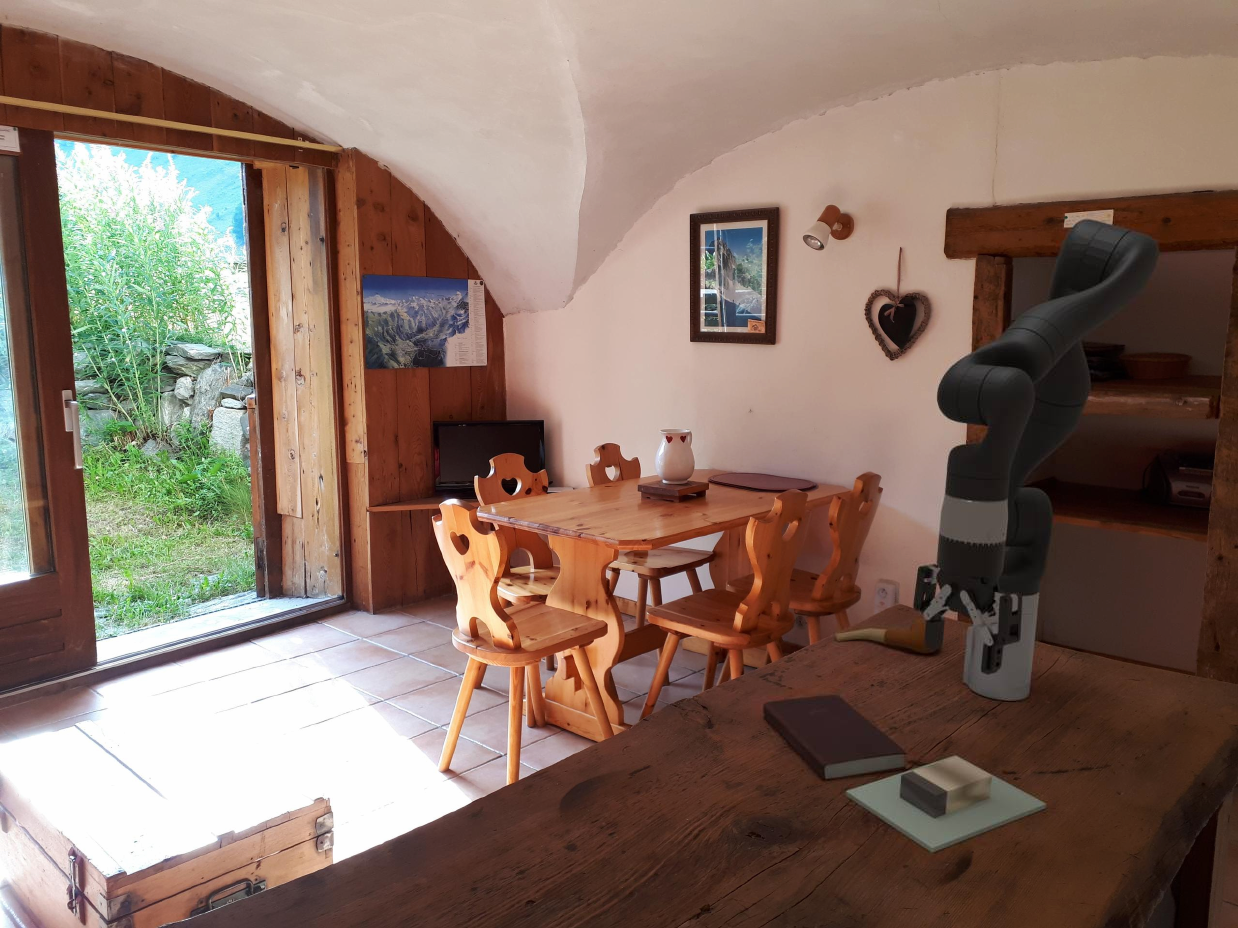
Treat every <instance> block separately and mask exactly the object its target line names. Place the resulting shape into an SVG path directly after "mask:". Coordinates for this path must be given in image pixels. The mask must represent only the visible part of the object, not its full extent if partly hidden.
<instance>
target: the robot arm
mask: <svg viewBox="0 0 1238 928" xmlns="http://www.w3.org/2000/svg"><path fill="white" fill-rule="evenodd" d="M1159 254H1160V247H1159V244H1158V242H1157V240H1156V239H1154V238H1153V237H1151V236H1150V235H1147V234H1145V233H1142V232H1138V231H1135V230H1131V229H1130V228H1129V229H1128V228H1125V227H1121V226H1119V225H1118V226H1117V225H1113V224H1111V223H1106V222H1103V221H1099V220H1094V219H1089V218H1085V219H1081V220H1079V221H1077V222H1075V224H1073V226H1072V227H1071V229H1070V230H1069V231H1068V233H1067V235H1066V236H1065V238H1064V240H1063V242H1062V245H1061V247H1060V250H1059V253H1058V255H1057V258H1056V261H1055V265H1054V270H1053V273H1052V275H1051V276H1052V277H1051V280H1050V283H1049V287H1048V288H1049V289H1048V293H1047V296H1046V301H1045V302H1043V303H1040V304H1038V305H1036V306H1033V307H1032V308H1030V309H1028V310H1026V311H1024V312H1023V313H1022V314H1021V315H1020V316H1019V317H1017V319H1016V320H1015V321H1014V322H1012V324H1010V326H1008V328H1006V329H1005V331H1004V332H1003V333H1002V334H1001V335H1000V336H999V337H998V338H997V339H996V340H994V341H992V342H991V341H990V342H989V343H987V344H985V345H983V346H981V347H979V348H978V349H975V350H974V351H973V352H970V353H969V354H967V355H965V356H963V357H962V358H961V359H959V360H957V361H956V362H955V363H953V364H951V366H950V367H949V368H948V369H947V370H946V372H945V373H944V374H943V376H942V378H941V379H940V382H939V385H938V386H937V392H936V402H937V405H938V409H939V410H940V412H941V413H942V415H943V416H944V417H946V418H947V419H948V420H951V421H953V422H956V423H961V424H970V425H976V426H983V427H987V431H986V433H985V434H984V437H983V438H982V440H981V441H980V442H979V443H978V442H977V443H965V444H963V443H962V444H958V445H956V446H954V447H953V448H952V449H951V450H950V451H949V454H948V457H947V463H946V476H945V477H946V478H945V488H944V497H943V502H942V506H941V509H940V518H939V519H940V521H939V531H938V541H937V542H938V543H937V554H936V563H932V564H924V565H921V566H920V565H919V567H918V568H917V573H916V575H917V576H916V582H915V589H914V596H913V603H912V605H913V610H915V611H916V612H921V613H922V614H923V619H926V627H925V643H926V647H927V648H928V649H931V650H935V649H937V650H938V649H941V648H942V647H943V646H944V645H943V643H944V634H945V633H944V631H945V621H946V620H945V619H943V617H944V616H945V615H946V614H948V612H949V611H950V612H953V613H960V614H961V615H963V616H964V617H966V618H969V619H971V621H972V622H973V625H970V626H968V628H967V630H966V642H965V651H964V663H963V675H962V676H963V677H962V683H963V684H966V685H967V686H968V687H969V689H971V690H972V691H973V692H974V693H977V694H978V695H980V696H983V697H985V698H990V699H994V700H999V701H1020V700H1021V701H1022V700H1025V699H1026V698H1028V697H1029V695H1030V689H1031V688H1030V687H1031V678H1032V669H1033V668H1032V667H1033V658H1034V648H1035V640H1036V631H1037V630H1036V629H1037V628H1036V627H1037V619H1038V607H1039V600H1040V599H1039V598H1040V596H1039V595H1040V588H1041V583H1042V580H1043V578H1044V577H1045V573H1046V569H1047V563H1048V557H1049V550H1050V546H1051V545H1050V544H1051V537H1052V531H1053V521H1054V517H1053V516H1054V514H1053V513H1054V512H1053V506H1052V503H1051V500H1050V498H1049V496H1048V495H1047V494H1046V492H1045V491H1043V490H1042V489H1040V488H1036V487H1022V485H1023V484H1024V482H1025V481H1026V479H1027V478H1028V476H1029V475H1030V474H1031V473H1032V472H1033V470H1035V469H1036V468H1037V467H1038V466H1039V465H1040V464H1041V463H1042V462H1043V461H1044V460H1045V459H1048V457H1050V456H1051V454H1053V453H1054V452H1055V451H1056V450H1058V448H1060V447H1061V445H1063V444H1064V443H1065V442H1066V440H1067V439H1069V438H1070V437H1071V435H1072V434H1073V433H1074V431H1075V430H1076V428H1077V426H1078V424H1079V422H1080V419H1081V416H1082V414H1083V412H1084V408H1085V406H1086V404H1087V400H1088V398H1089V396H1090V391H1091V387H1092V383H1091V375H1090V374H1091V373H1090V369H1089V366H1088V365H1089V364H1088V361H1087V357H1086V354H1085V350H1084V348H1083V347H1084V346H1083V344H1082V339H1083V338H1085V336H1087V334H1089V333H1091V332H1092V331H1094V330H1095V329H1097V328H1098V327H1100V326H1101V325H1102V324H1104V323H1105V322H1107V321H1108V320H1109V319H1110V318H1112V317H1114V315H1116V314H1118V313H1119V312H1120V311H1121V310H1123V309H1124V308H1126V307H1127V306H1128V305H1129V304H1130V303H1132V301H1134V300H1135V299H1136V298H1137V297H1139V295H1140V294H1141V293H1142V291H1143V290H1144V289H1145V288H1146V286H1147V285H1148V283H1149V282H1150V279H1151V278H1152V276H1153V274H1154V271H1155V269H1156V266H1157V263H1158V260H1159ZM1005 548H1008V549H1005ZM937 585H938V588H939V590H940V591H939V592H938V593H937ZM936 593H937V595H936Z"/></svg>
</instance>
